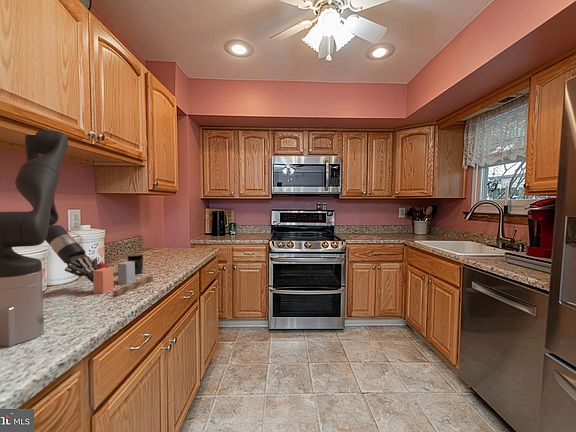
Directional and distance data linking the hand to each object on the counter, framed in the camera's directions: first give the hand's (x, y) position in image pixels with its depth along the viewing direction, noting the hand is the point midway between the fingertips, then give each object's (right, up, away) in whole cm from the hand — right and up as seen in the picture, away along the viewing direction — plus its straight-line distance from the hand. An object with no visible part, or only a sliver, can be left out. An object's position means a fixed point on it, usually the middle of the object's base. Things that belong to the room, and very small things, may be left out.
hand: (96, 280), depth 102 cm
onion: (-14, -4, +22) cm, 27 cm away
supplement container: (0, -4, +27) cm, 27 cm away
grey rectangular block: (+4, -3, +12) cm, 13 cm away
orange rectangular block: (+3, -4, 0) cm, 5 cm away
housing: (+6, -5, +6) cm, 10 cm away
